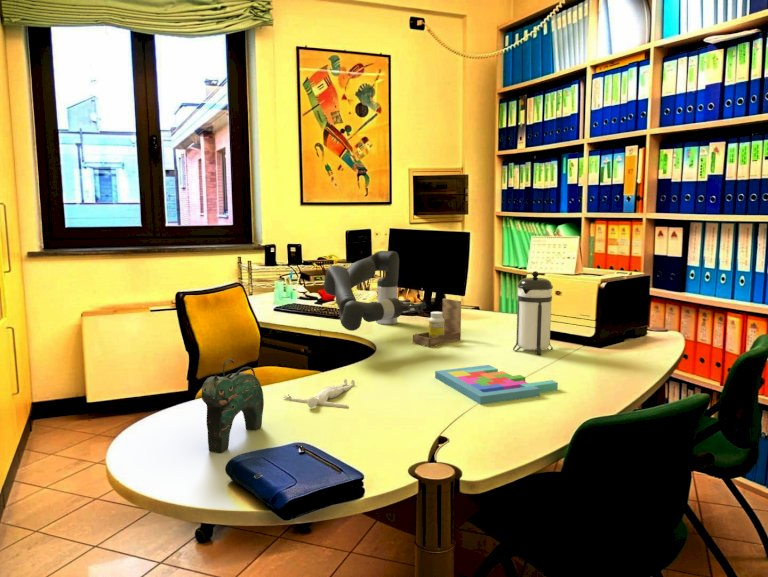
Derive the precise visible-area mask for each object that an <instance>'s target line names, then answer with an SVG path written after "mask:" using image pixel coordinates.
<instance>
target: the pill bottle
mask: <svg viewBox="0 0 768 577" xmlns="http://www.w3.org/2000/svg"><path fill="white" fill-rule="evenodd" d="M442 316H443V311H431V312H430V317H429V319H428V332H429V338H433V337H438V336H443V335H444V323H445V321H444V318H442Z"/></svg>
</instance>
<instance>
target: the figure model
mask: <svg viewBox="0 0 768 577" xmlns="http://www.w3.org/2000/svg"><path fill="white" fill-rule="evenodd" d="M347 379H348V378H345V379H344V380H343V383H342V384H341V385H331V386H326V387H324V388H323V389H322V390H321V391H319V392H317V393H316V394H315V395H314V396H311V397H309V398H308V399H307V398H300V397H299V398H298V397H297V398H296V397H291V395H290V394H287V395H284V396H283V397H282V398H283V399H284V401H285V400H286V401H292V402H298V403H304V404H307V406H308V407H309V408H311V409H312V408H316V405H317V406H322V407H332V408H333V407H335V408H343V409H350V406H349V405H347V404H344V403H339V402H337V403H335V402H333V401H332V402H331V401H328V399H329V400H330V399H331V400H332V399H335V398H336V397H337V396H339V395H340V394H342V393H343V392H347V391H349V390H350V388H352V387H354V386H355V380H354V379H352V380H350V384H349V385H348V380H347Z"/></svg>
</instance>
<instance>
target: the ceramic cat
mask: <svg viewBox="0 0 768 577" xmlns="http://www.w3.org/2000/svg"><path fill="white" fill-rule="evenodd" d="M228 362H231V363H232V364H235V360H234V359H231V358H230V359H229V358H228V359H226V360H225V361H224V362H223V364H222V365H223V366H222V373H223V376H218V375H214V376H210V377H207V378H206V380H205V381H204V382H203V384H202V387H201V400H202V402H203V403H204V404H205V405H206V430H207V445H208V451H209V452H212V453H217V454H223V453H224V452H225V451H227V450H229V445H230V436H231V435H230V434H231V430H232V427H233V422H234V419H235V418H236V417H237V415H238V414H239V413H240V412H241V413H242V415H243V419H244V426H245V430H248V431H253V432H255V431H258V430H260V429H261V428H262V425H263V413H264V404H265V401H264V392H263V388H262V385H261V382H260V381H259V379H258V377H257V376H256V372H255V370H254V368H253V367H250V366H245V367H241V368H240V369H238V370H237V372H235V373H229V374H227V375H226V374H225V367H226V365H227V364H228ZM243 370H250V371H251V372H252V373H247V372H246V373H245V372H242V371H243Z"/></svg>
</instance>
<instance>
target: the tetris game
mask: <svg viewBox="0 0 768 577" xmlns="http://www.w3.org/2000/svg"><path fill="white" fill-rule="evenodd" d="M434 375H435V376H434V378H435V379H436V380H438V381H440V383H443V384H444V385H446V386H448V387H450V388H451V389H453V390H455V391H457V392H459V393H460V394H461V395H463V396H465V397H467V398H469V399H470V400H472V401H473V402H475V403H477V404H478V405H485V404H493V403H499V402H508V401H513V400H514V401H515V399H516V400H521V399H522V398H523V399H529V397H530V398H536V396H537V397H540V394H541V393H545V392H546V393H547V391H548V392H554V390H555V391H558V387H559V384H558V383H559V382H557V381H555V380H552V379H550V380H543V381H535V382H526V376H523V375H521V374H517V375H511V374H509V373H508V372H505V371H504V370H503V371H499V370H498V368H496V367H494V366H492V365H490V364H487V365H486V364H483V365H476V366H468V367H461V368H460V367H459V368H449V369H441V370H435V371H434Z"/></svg>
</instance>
